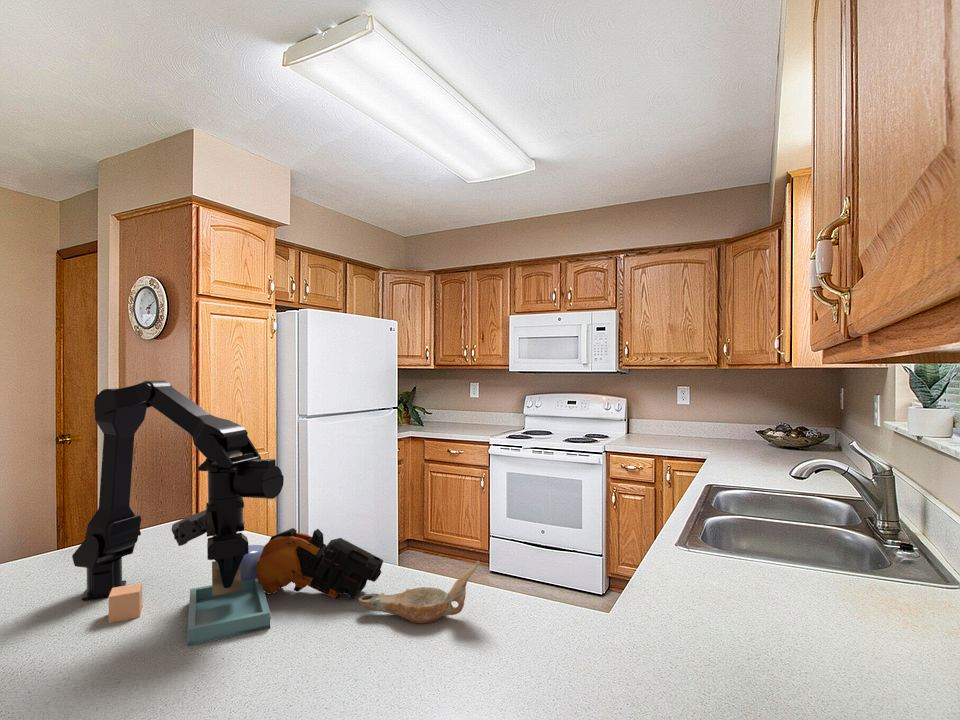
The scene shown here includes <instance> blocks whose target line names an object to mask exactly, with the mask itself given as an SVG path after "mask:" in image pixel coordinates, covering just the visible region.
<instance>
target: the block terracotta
mask: <svg viewBox="0 0 960 720" xmlns="http://www.w3.org/2000/svg"><path fill="white" fill-rule="evenodd" d="M107 598H108V624H112V623H116V622H117V623H118V622H121V621H122V622H123V621H127V620H131V619H137V618H140V617H141V614H142V610H143V583H142V582H138V583H133V584H128V585H127V584H126V585H125V586H120V587H114V588H112V590H111V592H110V595H109V596H107Z"/></svg>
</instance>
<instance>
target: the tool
mask: <svg viewBox="0 0 960 720" xmlns="http://www.w3.org/2000/svg"><path fill="white" fill-rule="evenodd" d="M324 542H325V541H324V533H323V532H322V531H321V530H320V528H317V529H315V530H313V532H312V536H311V535H308V534H305V533H300V532H297V529H296V528H294V527H292V528H289V529H287V530H284V531H282V532H280V533H277V534H275V535H272V536H271V537H270V539H269V541H268V542H267V543H266V544H265V545H263V546H264V548H263V551H262V553H261V556H260V557H259V559H258V561H257V566H256V568H257V569H256V573H257V579H258V582H259V584H262V585H263V589H264V593H265V594H267V595H268V594H269V595H272V594H276V593H277V592H278V590H279V589H282V588H285V587H287V586H288V585H289V584H291V583H293V584H294V585H295V586H294V587H293V591H294V592H297V593H298V592H300V591H301V590H303V589H304V588H306V587H308V588H309V587H310V588H311V589H314V590H316V591H317V592H320V593H322V594H324V595H326V596H328V597H330V598H333V599H336V598H337V596H338V594H340V595H341V596H343V595H344V594H346V595H348V597H349V598H352V599H355V598H356V597H357V596H359V595H360V594H361V592H362V591H363V590H364V589H365V588H366V585H367V582H368V581H369V582H370V581H371V582H372V583H374V582H377V580H378V579H379V578H380V576H381V574H382V570H381V569H382V566H383V563H384V559H382V558H381V557H378V556H376V555H374V554H372V553H371V552H368V551H367V550H365V549H363V548H361V547H359V546H357V545H355V544H353V543H351V542H350V541H348V540H346V539H344V538H341V537H339V538H338V537H337V538H335V539H330V541H329V542H328V543H327V544H325V543H324Z"/></svg>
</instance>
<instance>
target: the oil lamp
mask: <svg viewBox="0 0 960 720" xmlns="http://www.w3.org/2000/svg"><path fill="white" fill-rule="evenodd" d="M480 563H481V562H480V560H477V561H476V562H475V564H473V566H471V567H470V568H468V569H467V570H466V571H465V572H464V573H463V574H462V575H461V576H460V577H458V578H457V580H456V581H455V582H454V584H453V585H452V588H451V589H450V590H449V591H445V590H443V589H441V588H438V587H437V588H436V587H430V586H429V587H428V586H427V587H425V586H423V587H415V588H406V589H405V590H404V591H402V592H399V593H394V594H385V593H375V592H374V593H373V592H372V593H367V594H364V595H362V596H359V597H358V602H359V604H360V605H361V606H362V607H364V608H365V609H368V610H369V611H374V612H383V613H387V614H392V615H395V616H399V617H401V618H404V619H405V620H408V621H410V622H412V623H415V624H428V623H432V622H435V621H438V620H439V619H440V618H441V617H443V616H454V615H457V614H460V613H461V612H462V611H463V608H464V606H465V601H466V600H465V599H466V594H467V592H466V591H467V589H466V588H467V583H468V581H469V579H470V578H471V577H472V575H473V574H474V573H475V571H477V569H478V567H479V565H480ZM453 602H456V603H457V605H458V606H457V607H454V606H453Z"/></svg>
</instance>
